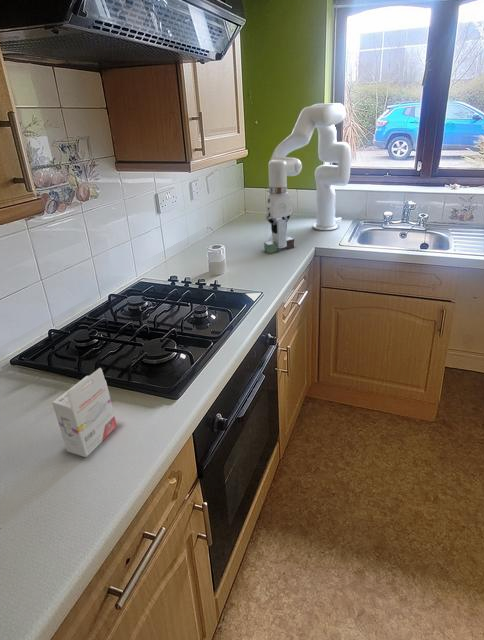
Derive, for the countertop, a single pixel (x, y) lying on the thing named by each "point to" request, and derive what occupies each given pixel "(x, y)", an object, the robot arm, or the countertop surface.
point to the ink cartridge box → (85, 414)
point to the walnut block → (290, 243)
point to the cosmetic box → (280, 234)
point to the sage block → (270, 247)
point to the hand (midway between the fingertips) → (279, 231)
